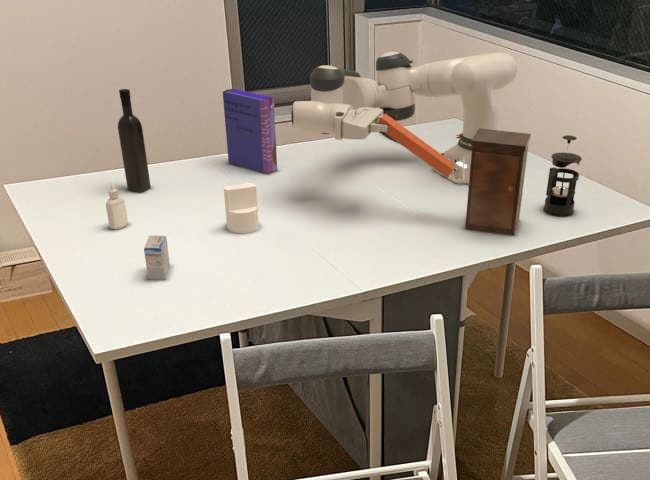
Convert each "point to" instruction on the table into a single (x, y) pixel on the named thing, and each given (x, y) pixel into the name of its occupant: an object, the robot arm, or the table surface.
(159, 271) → the medicine box
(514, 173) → the cabinet
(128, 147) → the wine bottle
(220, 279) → the table surface
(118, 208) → the eye dropper bottle
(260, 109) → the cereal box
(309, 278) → the table surface
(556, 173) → the french press
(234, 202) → the cylinder with rectangular tab
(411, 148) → the orange rectangular bar
